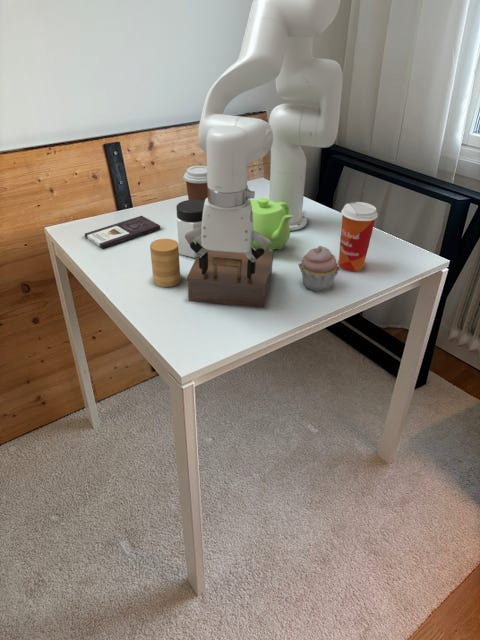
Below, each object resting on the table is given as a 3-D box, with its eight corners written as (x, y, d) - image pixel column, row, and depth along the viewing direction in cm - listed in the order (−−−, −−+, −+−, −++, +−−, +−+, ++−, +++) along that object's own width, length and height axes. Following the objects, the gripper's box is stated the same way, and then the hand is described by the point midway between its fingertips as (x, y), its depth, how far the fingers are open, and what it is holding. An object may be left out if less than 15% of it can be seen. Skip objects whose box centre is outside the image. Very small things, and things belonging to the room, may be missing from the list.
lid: (264, 289, 104) (266, 266, 101) (186, 281, 106) (185, 259, 103) (273, 253, 117) (274, 232, 114) (202, 247, 119) (202, 226, 116)
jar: (187, 261, 125) (184, 215, 118) (171, 248, 130) (168, 203, 123) (218, 252, 129) (217, 207, 122) (202, 240, 134) (200, 196, 127)
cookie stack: (160, 271, 120) (157, 236, 115) (184, 276, 118) (182, 241, 113) (148, 284, 115) (144, 248, 110) (173, 289, 114) (170, 253, 108)
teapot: (299, 238, 136) (303, 193, 129) (288, 262, 125) (292, 214, 118) (241, 230, 139) (242, 186, 132) (226, 253, 128) (226, 206, 121)
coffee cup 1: (206, 201, 156) (205, 162, 149) (221, 211, 150) (220, 171, 143) (180, 206, 152) (177, 167, 146) (193, 217, 146) (191, 176, 139)
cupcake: (289, 278, 118) (292, 239, 113) (324, 272, 121) (329, 233, 115) (307, 298, 111) (312, 258, 106) (344, 291, 114) (351, 251, 108)
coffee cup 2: (327, 261, 126) (335, 203, 117) (355, 255, 128) (364, 198, 120) (346, 276, 119) (355, 217, 111) (375, 270, 122) (386, 212, 114)
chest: (264, 308, 108) (265, 287, 105) (188, 300, 110) (187, 279, 107) (271, 273, 120) (273, 253, 117) (203, 267, 122) (203, 247, 119)
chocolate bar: (160, 225, 139) (102, 245, 129) (160, 228, 139) (102, 248, 129) (141, 215, 144) (84, 233, 134) (141, 218, 145) (85, 236, 134)
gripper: (274, 191, 98) (270, 268, 108) (187, 185, 101) (191, 261, 110) (270, 206, 92) (266, 286, 102) (178, 199, 94) (182, 278, 104)
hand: (227, 273), depth 106 cm, fingers open, 9 cm apart
